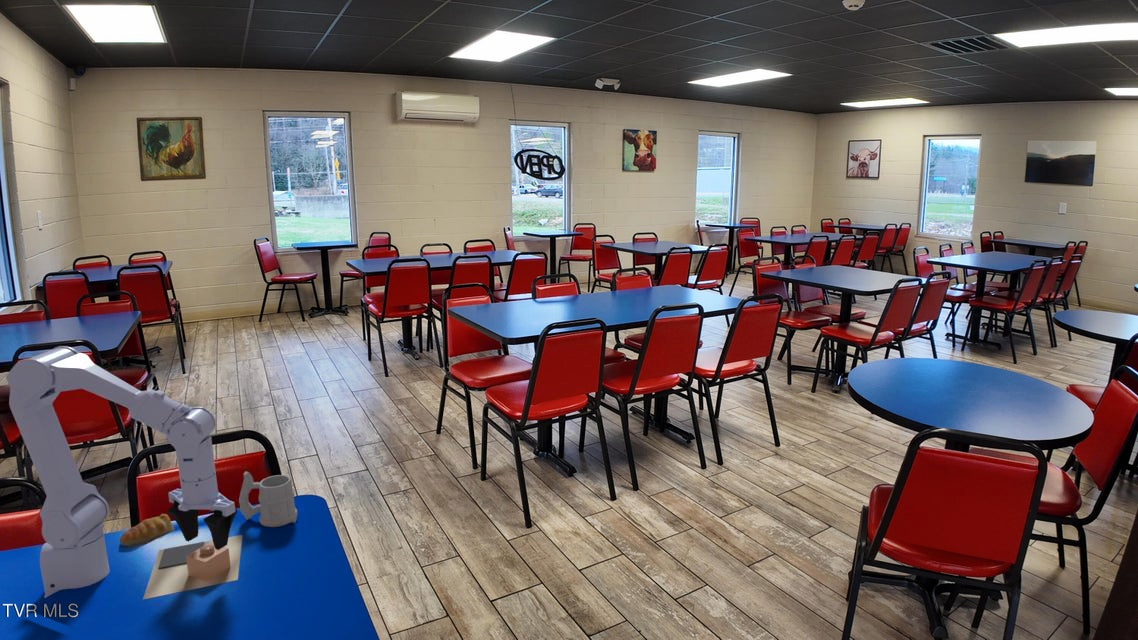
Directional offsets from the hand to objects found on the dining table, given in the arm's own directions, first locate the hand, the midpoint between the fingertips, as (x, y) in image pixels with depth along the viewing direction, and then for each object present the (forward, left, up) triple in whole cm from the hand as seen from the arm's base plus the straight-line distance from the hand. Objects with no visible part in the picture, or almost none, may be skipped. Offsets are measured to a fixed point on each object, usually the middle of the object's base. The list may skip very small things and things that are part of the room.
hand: (206, 542), depth 123 cm
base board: (-3, +4, -7) cm, 8 cm away
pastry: (-13, +21, -7) cm, 26 cm away
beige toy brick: (0, 0, -6) cm, 6 cm away
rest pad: (-6, +8, -7) cm, 12 cm away
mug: (+10, +17, -7) cm, 21 cm away
